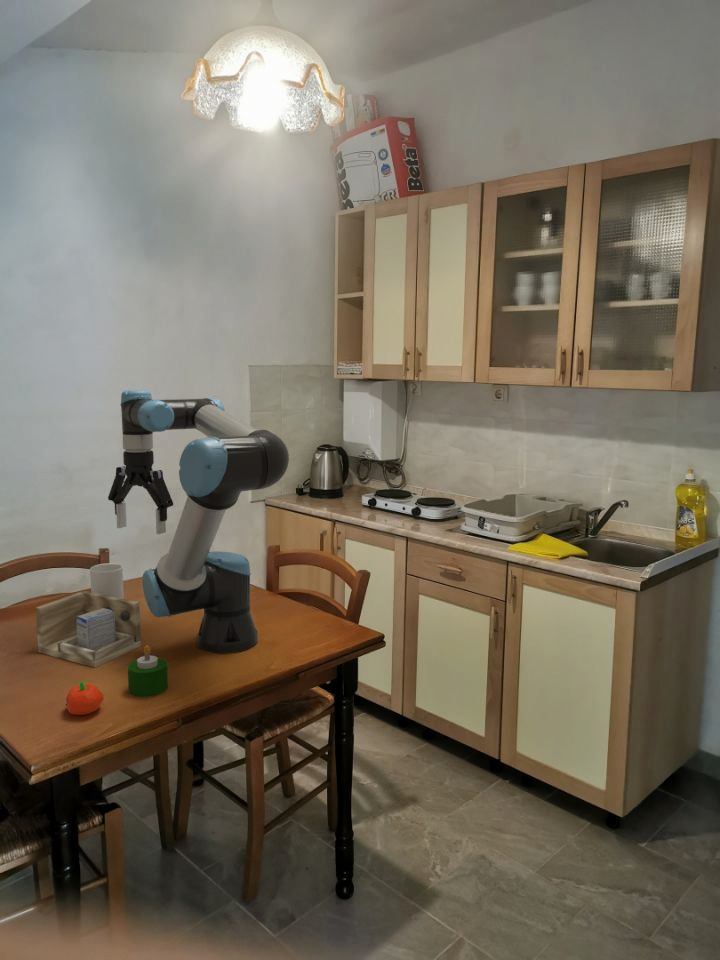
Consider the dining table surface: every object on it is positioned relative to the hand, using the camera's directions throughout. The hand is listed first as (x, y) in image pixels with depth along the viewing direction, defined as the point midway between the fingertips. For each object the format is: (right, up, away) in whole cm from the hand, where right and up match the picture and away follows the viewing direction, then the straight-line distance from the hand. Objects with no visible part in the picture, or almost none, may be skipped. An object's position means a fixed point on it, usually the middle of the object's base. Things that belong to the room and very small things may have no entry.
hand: (141, 530), depth 195 cm
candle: (+11, -33, -32) cm, 47 cm away
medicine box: (-7, -28, -14) cm, 32 cm away
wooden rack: (-9, -29, -11) cm, 32 cm away
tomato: (+1, -34, -43) cm, 55 cm away
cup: (-11, -26, +6) cm, 29 cm away
